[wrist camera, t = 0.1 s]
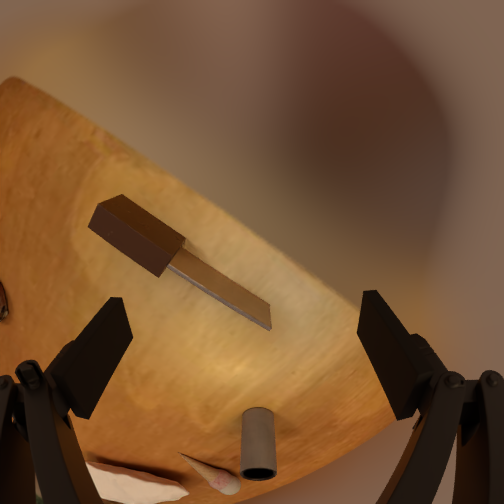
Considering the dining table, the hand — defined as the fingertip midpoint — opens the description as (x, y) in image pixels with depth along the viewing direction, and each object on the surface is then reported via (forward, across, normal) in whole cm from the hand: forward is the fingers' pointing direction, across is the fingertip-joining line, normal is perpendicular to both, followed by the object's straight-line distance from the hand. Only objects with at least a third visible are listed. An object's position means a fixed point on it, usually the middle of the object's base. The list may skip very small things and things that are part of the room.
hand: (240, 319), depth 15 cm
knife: (+14, -6, -1) cm, 15 cm away
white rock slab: (+14, -31, -56) cm, 66 cm away
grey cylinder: (+14, 0, -26) cm, 30 cm away
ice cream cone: (+14, -10, -46) cm, 49 cm away
